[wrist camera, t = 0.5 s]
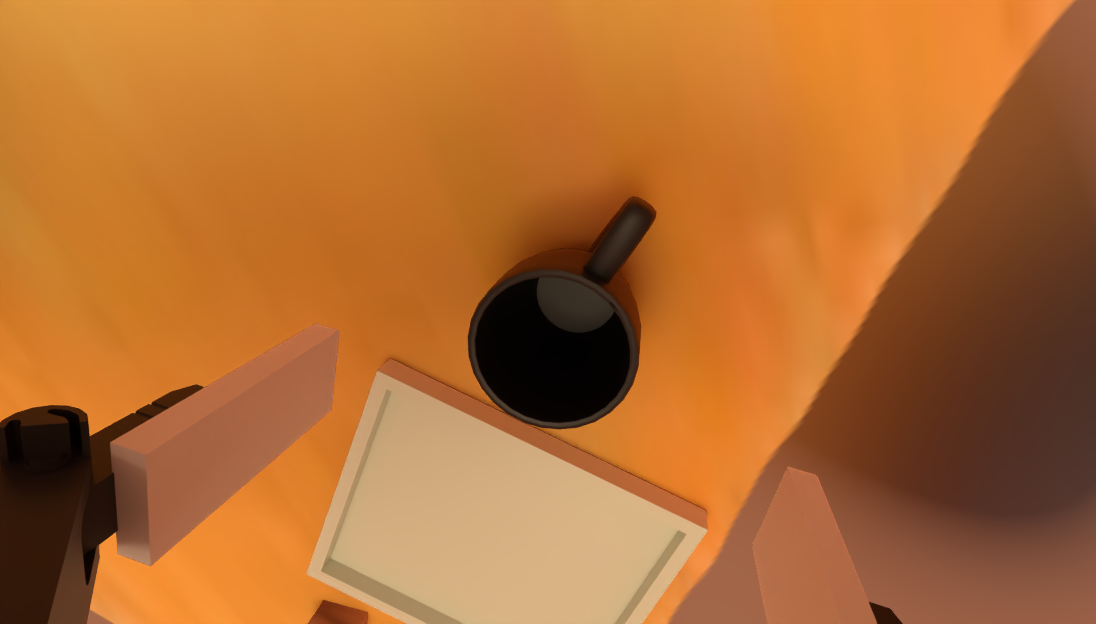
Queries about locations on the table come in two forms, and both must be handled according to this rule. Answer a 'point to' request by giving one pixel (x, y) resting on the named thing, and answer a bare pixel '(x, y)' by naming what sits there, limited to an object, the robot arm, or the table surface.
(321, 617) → the walnut cube
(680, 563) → the tray
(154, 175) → the table surface
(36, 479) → the robot arm
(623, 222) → the mug
